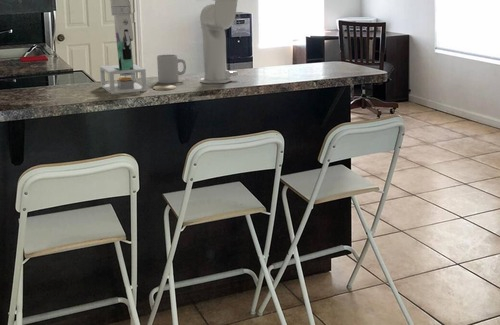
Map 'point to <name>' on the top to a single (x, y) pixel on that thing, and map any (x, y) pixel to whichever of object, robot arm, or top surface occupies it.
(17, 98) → the top surface
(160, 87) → the coaster
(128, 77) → the button
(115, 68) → the white open box frame
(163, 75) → the mug
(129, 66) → the spray can
